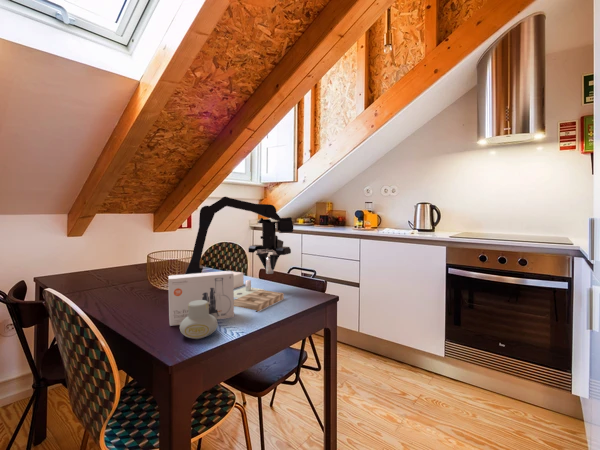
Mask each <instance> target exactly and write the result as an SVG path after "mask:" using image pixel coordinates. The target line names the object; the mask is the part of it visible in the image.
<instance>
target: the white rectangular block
mask: <svg viewBox="0 0 600 450" xmlns="http://www.w3.org/2000/svg"><path fill="white" fill-rule="evenodd" d="M232 272H233V273H234V289H236V288H239V287H242V286H244V272H239V271H232Z"/></svg>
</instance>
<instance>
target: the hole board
mask: <svg viewBox="0 0 600 450" xmlns="http://www.w3.org/2000/svg"><path fill="white" fill-rule="evenodd" d="M284 296H285V293H283V292H279V291H278V292H277V291H271V290H266V289H265V290H258V291H255V292H253V293H250V294H248V295H245V296H243V297H240V298H235V299H234V307H237V308H243V309H247V310H252V311H255V313H259V312H260V311H263V310H265V309H267V308H268V307H270V306H273V305H274V304H277V303H279V302H281V301H283V300H284Z"/></svg>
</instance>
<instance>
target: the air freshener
mask: <svg viewBox="0 0 600 450" xmlns="http://www.w3.org/2000/svg"><path fill="white" fill-rule="evenodd" d="M218 326H219V325H218V319H216V318H215V317H214V316H212V315H210V314H209V303H208V301H206V300H196V301H192V302H190V303H189V304H188V317H186V318H185V319H184V320H183V321H182V322H181V324H180V325H179V330H180V333H181V334H182V335H183V336H185V337H186V338H189V339H193V340H200V339H203V338H206V337H208V336H210V335H212V334H213V333H214V332H215V331H216V330H217V328H218Z"/></svg>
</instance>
